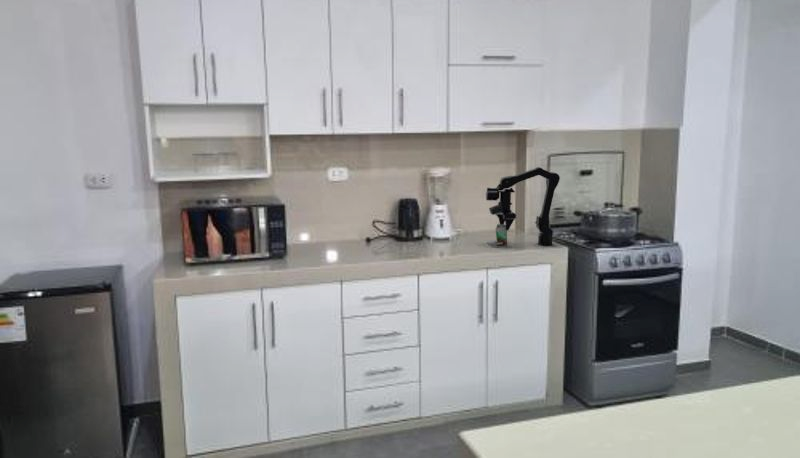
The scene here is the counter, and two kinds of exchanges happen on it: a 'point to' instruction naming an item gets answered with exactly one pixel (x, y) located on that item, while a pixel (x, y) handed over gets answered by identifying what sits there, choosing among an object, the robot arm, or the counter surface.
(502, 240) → the food container
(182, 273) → the counter surface
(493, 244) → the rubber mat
